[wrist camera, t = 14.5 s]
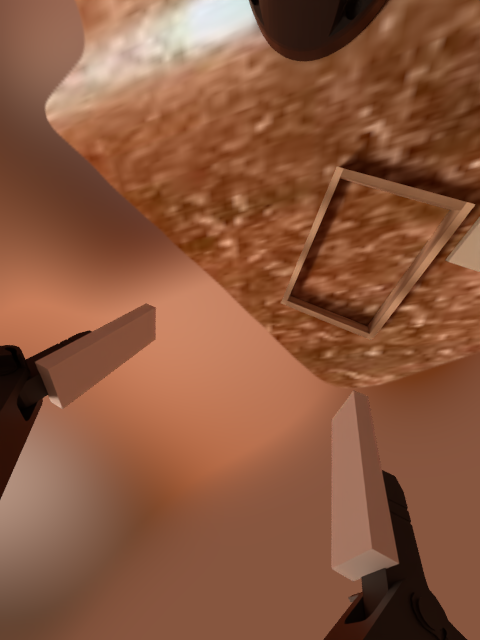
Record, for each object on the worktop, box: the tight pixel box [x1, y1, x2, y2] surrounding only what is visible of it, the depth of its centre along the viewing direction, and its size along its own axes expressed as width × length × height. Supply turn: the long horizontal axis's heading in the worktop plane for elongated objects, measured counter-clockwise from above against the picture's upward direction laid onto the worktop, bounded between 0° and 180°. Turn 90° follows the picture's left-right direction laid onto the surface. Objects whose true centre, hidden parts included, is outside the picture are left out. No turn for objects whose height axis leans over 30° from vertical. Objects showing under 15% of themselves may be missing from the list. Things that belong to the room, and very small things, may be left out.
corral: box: [281, 167, 475, 340], centre depth 30 cm, size 19×15×2 cm
